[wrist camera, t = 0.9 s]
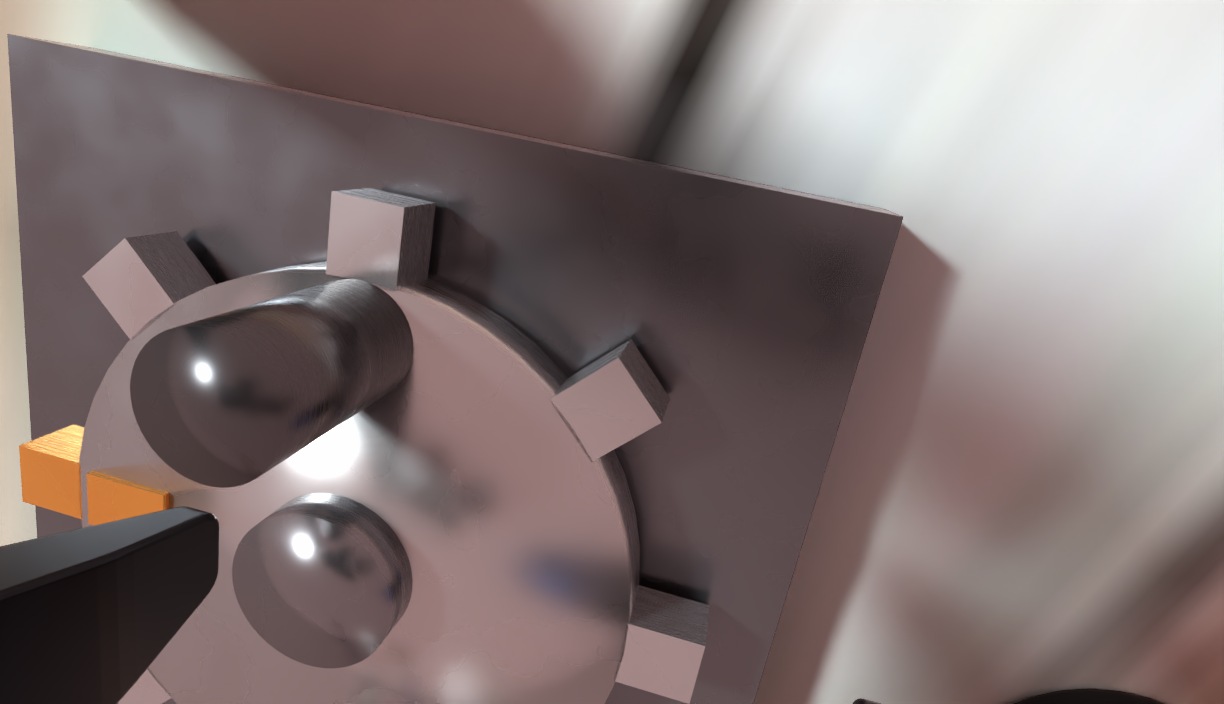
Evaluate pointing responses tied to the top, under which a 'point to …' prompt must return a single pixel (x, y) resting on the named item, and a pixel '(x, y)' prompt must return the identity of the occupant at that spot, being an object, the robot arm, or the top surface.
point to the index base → (484, 287)
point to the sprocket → (372, 481)
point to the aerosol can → (1088, 698)
